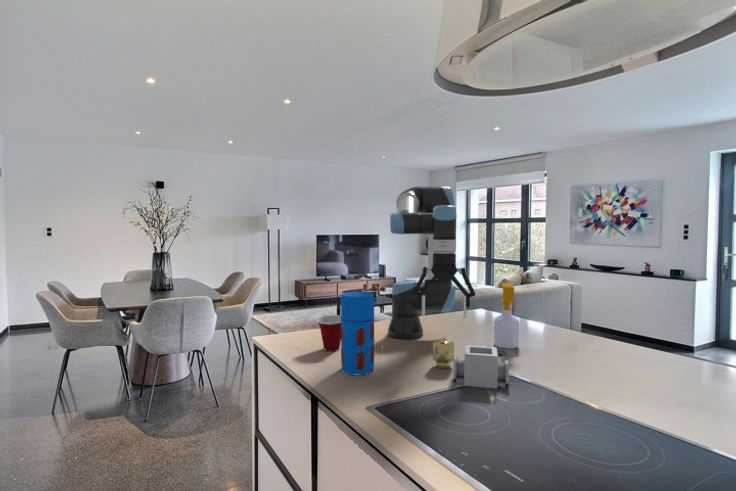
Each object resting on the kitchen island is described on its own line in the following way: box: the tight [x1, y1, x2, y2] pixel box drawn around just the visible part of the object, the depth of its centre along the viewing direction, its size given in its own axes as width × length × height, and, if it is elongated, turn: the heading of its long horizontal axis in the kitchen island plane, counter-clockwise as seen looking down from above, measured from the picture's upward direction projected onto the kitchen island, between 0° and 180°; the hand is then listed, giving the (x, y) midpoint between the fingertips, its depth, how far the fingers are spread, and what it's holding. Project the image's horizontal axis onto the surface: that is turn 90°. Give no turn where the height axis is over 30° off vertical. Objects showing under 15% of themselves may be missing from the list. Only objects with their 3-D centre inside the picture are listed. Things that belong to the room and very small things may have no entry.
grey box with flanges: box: [452, 344, 510, 389], centre depth 131 cm, size 16×9×10 cm, turn 76°
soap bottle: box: [493, 282, 520, 350], centre depth 169 cm, size 9×9×25 cm
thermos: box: [340, 291, 375, 375], centre depth 141 cm, size 11×11×25 cm
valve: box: [432, 337, 455, 370], centre depth 145 cm, size 7×7×9 cm
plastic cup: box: [316, 314, 341, 351], centre depth 165 cm, size 11×11×12 cm
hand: (443, 316), depth 144 cm, fingers open, 13 cm apart
